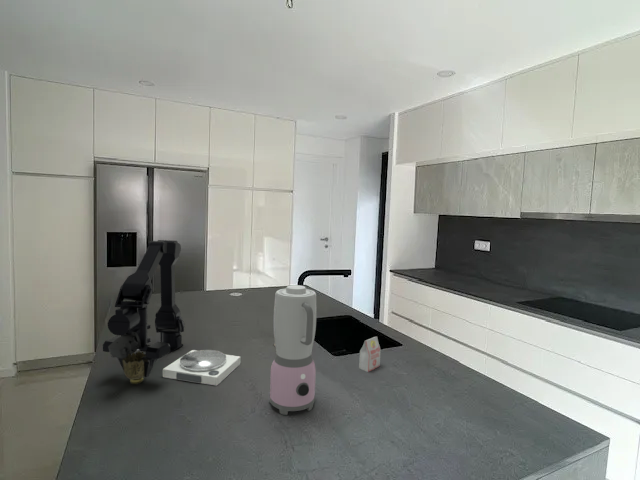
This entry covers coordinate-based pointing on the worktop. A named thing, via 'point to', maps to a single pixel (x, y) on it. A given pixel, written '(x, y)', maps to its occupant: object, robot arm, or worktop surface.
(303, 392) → the blender
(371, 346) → the milk carton
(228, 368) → the scale base
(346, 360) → the worktop surface
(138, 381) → the cup
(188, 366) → the scale pan
